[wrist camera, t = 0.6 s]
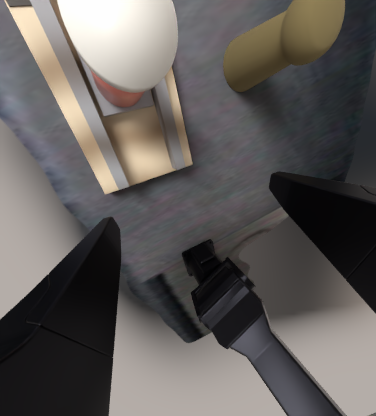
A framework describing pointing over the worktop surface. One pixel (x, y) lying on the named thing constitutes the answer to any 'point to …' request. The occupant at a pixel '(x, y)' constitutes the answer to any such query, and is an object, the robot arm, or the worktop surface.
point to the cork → (283, 42)
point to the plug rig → (91, 112)
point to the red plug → (122, 47)
